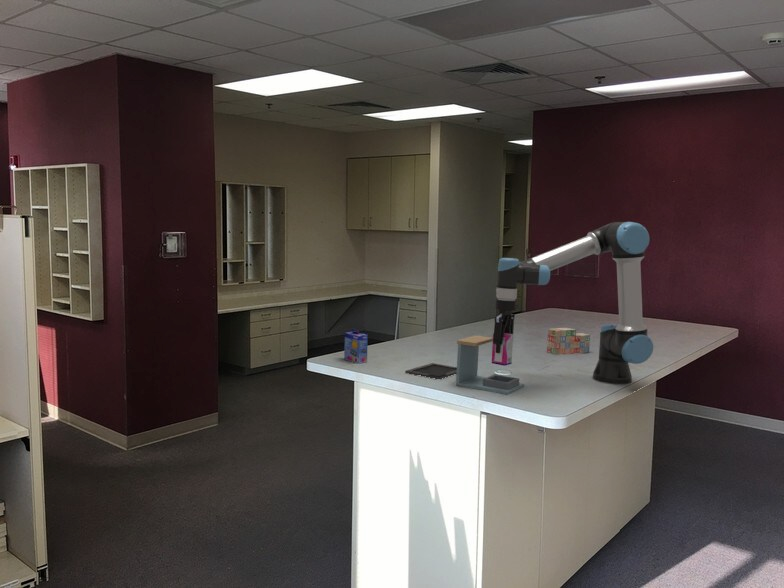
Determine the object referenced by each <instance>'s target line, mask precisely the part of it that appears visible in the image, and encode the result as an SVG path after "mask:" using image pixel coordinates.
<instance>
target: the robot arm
mask: <svg viewBox="0 0 784 588" xmlns="http://www.w3.org/2000/svg"><path fill="white" fill-rule="evenodd" d="M649 244H650V234H649V232H648V230H647V228H646V227H645V226H644V225H642V224H640V223H639V222H633V221H614V222H611V223H608V224H606V225H603V226H601V227H599V228H596V229H594V230H592V231H589V232H587V235H586V236H584V237H581V238H578V239H577V240H574V241H571V242H569V243H566V244H563V245H560V246H558V247H556V248H553V249H551V250H548V251H546V252H543V253H540V254H538V255H535V256H534V257H531V258H527V259H526V260H523V261H520V259H518V258H515V257H514V258H513V257H501V258H500V259H498V265H497V284H496V289H495V292H496V293H495V294H496V295H495V296H496V300H495V310H498V313H497V316H494V328H493V334H494V336H493V335H492V338H493V341H492V345H493V344H496V346H495V360H494V361H497V362H502V354H503V345H502V341H503V336H504V333H508V334H513V335H514V325H515V315H516V314H514V313H512V312H514V311H516V309H517V301H516V300H517V297H518V295H517V294H518V285H532V286H533V285H536V286H545V285H548V284H549V282H550V279H551V271H553V270H556V269H558V268H561V267H564V266H566V265H569V264H571V263H573V262H574V263H575V262H576V261H579V260H581V259H583V258H586V257H589V256H591V255H596V256H599V255H601V254H603V253H609V252H611V257H612V260H613V261H615V263H616V276H617V278H616V279H617V280H616V281H617V300H618V322H619V323H618V324H603V325H602V326H601V327H600V331H599V332H600V333H599V334H600V335H599V346H598V347H599V348H598V351H599V352H598V360H597V363H596V365H595V367H594V371H593V372H592V379H593V380H595V381H597V382H600V383H604V384H613V385H628V384H632V380H633V377H632V372H631V367H630V365H629V364H634V365H635V364H636V365H639V364H640V365H641V364H642V363H645V362H647V361H648V359H649V358H651V356H652V355H653V351H654V343H653V340H652V339H651V338H650V337H649V336H648V327H647V326H646V325H645V324H644V322H643V321H644V320H643V319H644V317H643V298H642V296H643V295H642V294H643V293H642V274H641V273H642V272H641V271H642V269H641V261H643V259H645V251H646V249H647V248H648V246H649Z"/></svg>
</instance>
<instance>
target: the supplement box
mask: <svg viewBox="0 0 784 588" xmlns="http://www.w3.org/2000/svg"><path fill="white" fill-rule="evenodd" d="M493 336H494V333H493V334H492V337H493ZM513 342H514V333H513V334H508V333H504V336H503V341H502V345H503V354H502V362H497V361H494V360H495V346H496V344H493V343H492V345H491V346H492V347H491V364H494V365H500V366H503V367H505V366H509V365H512V364H513V362H512V361H513V344H514V343H513Z"/></svg>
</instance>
